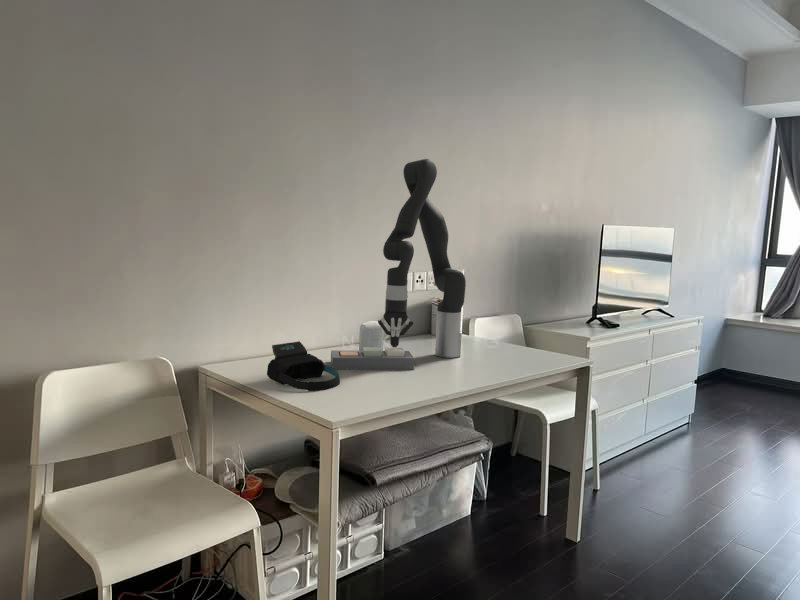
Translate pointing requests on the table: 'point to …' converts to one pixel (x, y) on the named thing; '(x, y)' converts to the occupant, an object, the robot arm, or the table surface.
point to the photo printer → (371, 335)
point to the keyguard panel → (371, 361)
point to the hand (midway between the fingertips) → (394, 346)
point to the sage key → (372, 351)
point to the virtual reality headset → (299, 368)
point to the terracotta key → (349, 354)
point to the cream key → (394, 352)
